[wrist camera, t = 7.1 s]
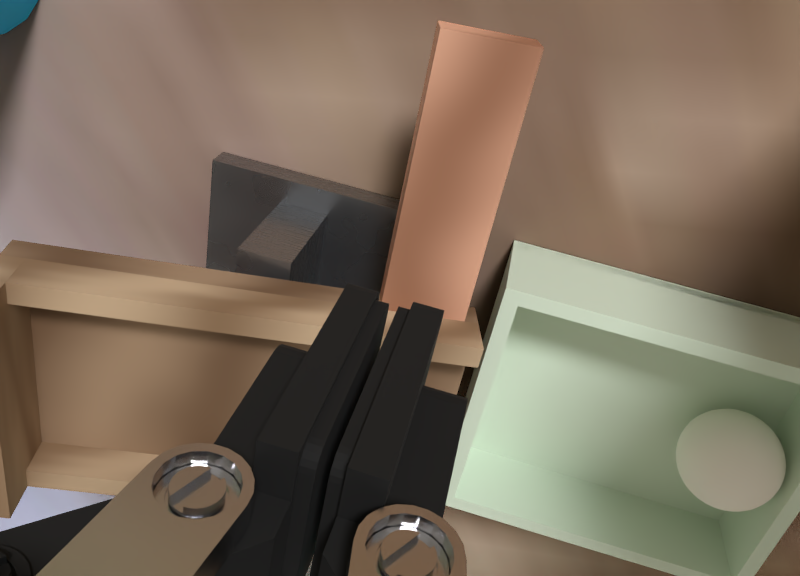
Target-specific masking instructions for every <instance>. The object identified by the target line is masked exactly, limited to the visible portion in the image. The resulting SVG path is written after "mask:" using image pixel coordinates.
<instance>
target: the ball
mask: <svg viewBox="0 0 800 576" xmlns="http://www.w3.org/2000/svg"><path fill="white" fill-rule="evenodd" d="M676 463H677V468H678V471H679V474H680V476H681V478H682V480H683V482H684V484H685V485H686V487H687V488H688V489H689V490H690V491H691V492H692V493H693V495H695V496H696V497H697V498H698V499H700V500H701V501H703V502H704V503H706V504H707V505H710V506H712V507H714V508H717V509H720V510H725V511H731V512H741V511H748V510H752V509H755V508H757V507H759V506H762V505H763V504H765V503H767V502H768V501H769V500H770V499H771V498H772V497H773V496H774V495H775V494H776V493H777V492H778V490H779V489H780V487H781V485H782V483H783V480H784V477H785V472H786V459H785V454H784V450H783V447H782V445H781V442H780V440H779V439H778V437H777V436H776V434H775V433H774V432H773V430H772V429H771V428H770V427H769V426H768V425H767V424H765V423H764V422H763V421H762V420H760V419H759V418H757V417H755V416H754V415H751V414H749V413H747V412H744V411H740V410H735V409H716V410H711V411H708V412H705V413H703V414H701V415H699V416H697V417H696V418H694V419H693V420H692V421H690V422H689V423H688V425H687V426H686V427H685V428H684V430H683V431H682V433H681V435H680V437H679V439H678V442H677V447H676Z"/></svg>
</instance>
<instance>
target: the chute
mask: <svg viewBox="0 0 800 576" xmlns="http://www.w3.org/2000/svg"><path fill="white" fill-rule="evenodd" d="M543 50H544V48H543V47H542V45H541V44H540V43H539V42H538V40H535V39H530V38H525V37H520V36H515V35H510V34H505V33H500V32H495V31H489V30H484V29H479V28H474V27H469V26H464V25H459V24H454V23H449V22H444V21H439V20H438V22H437V26H436V31H435V36H434V41H433V45H432V50H431V55H430V59H429V64H428V69H427V74H426V78H425V83H424V88H423V93H422V97H421V102H420V107H419V112H418V116H417V121H416V126H415V130H414V135H413V140H412V145H411V149H410V154H409V159H408V164H407V168H406V173H405V178H404V183H403V187H402V192H401V197H400V202H399V206H398V211H397V216H396V220H395V225H394V230H393V235H392V239H391V244H390V249H389V254H388V258H387V263H386V268H385V273H384V277H383V282H382V287H381V291H380V294H379V301H382V302H385V303H389V310H388V314H387V319H386V324H385V328H384V333H383V337H382V342H381V346H382V344H383V341H384V339H385V337H386V334H387V332H388V330H389V327H390V325H391V323H392V320H393V318H394V316H395V313H396V311H397V309H398V307H403V308H406V309H410V308H411V306H412V303H413V302H417V303H420V304H424V305H427V306H431V307H435V308H438V309H442V310H444V315H443V319H442V322H441V326H440V330H439V334H438V337H437V341H436V345H435V349H434V352H433V356H432V360H431V363H430V367H429V371H428V375H427V378H426V382H425V386H428V387H431V388H435V389H438V390H441V391H445V392H448V393H452V394H455V395H457V392H458V389H459V386H460V382H461V379H462V376H463V373H464V369H465V366H468V367H476V368H478V366H479V363H480V360H481V357H482V354H483V350H484V347H483V343H482V338H481V333H480V329H479V324H478V319H477V315H476V310H475V308H473V307H469V304H470V301H471V298H472V294H473V291H474V287H475V284H476V280H477V277H478V273H479V270H480V267H481V263H482V260H483V256H484V253H485V249H486V246H487V243H488V239H489V236H490V232H491V229H492V225H493V222H494V218H495V215H496V212H497V208H498V205H499V201H500V198H501V194H502V191H503V187H504V184H505V181H506V177H507V174H508V170H509V167H510V163H511V160H512V156H513V153H514V150H515V146H516V143H517V139H518V136H519V132H520V129H521V125H522V122H523V119H524V115H525V112H526V108H527V105H528V101H529V98H530V95H531V91H532V88H533V84H534V81H535V77H536V74H537V70H538V67H539V64H540V60H541V57H542V53H543ZM343 290H344V288H337V287H330V286H323V285H317V284H310V283H303V282H296V281H289V280H283V279H276V278H269V277H262V276H255V275H248V274H242V273H235V272H228V271H221V270H214V269H208V268H201V267H194V266H187V265H180V264H174V263H167V262H160V261H153V260H146V259H139V258H133V257H126V256H119V255H112V254H105V253H99V252H92V251H85V250H78V249H71V248H64V247H58V246H51V245H44V244H37V243H30V242H24V241H17V240H12V241H11V242H10V243H9V244H8V245H7V247H6V248H5V249H4V250H3V251H2V252H1V253H0V517H1V518H11V516H12V514H13V512H14V510H15V508H16V507H17V505H18V503H19V501H20V499H21V497H22V495H23V493H24V492H25V490H26V488H27V486H32V487H41V488H50V489H60V490H69V491H79V492H88V493H98V494H107V495H117V494H118V493H119V492H120V491H121V490H122V489H123V488H124V487H125V486H126V485H127V484H128V483H129V482H130V481H131V480H132V479H133V478H135V477H136V476H137V475H138V474H139V473H140V472H141V471H142V470H143V469H144V468H145V467H146V466H147V465H148V464H149V463H150V462H151V461H152V460H153V459H155V458H156V457H157V456H159V455H160V454H161V453H163V452H164V451H167V450H169V449H172V448H174V447H177V446H179V445H186V444H192V443H208V444H214V442H215V441H216V439H217V438H218V436H219V435H220V433H221V432H222V430H223V429H224V427H225V426H226V424H227V422H228V421H229V419H230V418H231V416H232V415H233V413H234V412H235V410H236V409H237V407H238V406H239V404H240V403H241V401H242V399H243V398H244V396H245V395H246V393H247V392H248V390H249V389H250V387H251V386H252V384H253V383H254V381H255V379H256V378H257V376H258V375H259V373H260V372H261V370H262V369H263V367H264V366H265V364H266V363H267V361H268V360H269V358H270V356H271V355H272V353H273V352H274V350H275V349H276V348H277V347H278V345H280V344H284V345H287V346H291V347H294V348H298V349H301V350H304V351H308V350H309V349H310V347H311V345H312V343H313V342H314V340H315V338H316V336H317V335H318V333H319V331H320V330H321V328H322V326H323V324H324V323H325V321H326V319H327V317H328V316H329V314H330V312H331V311H332V309H333V307H334V305H335V304H336V302H337V300H338V298H339V297H340V295H341V293H342V292H343ZM381 346H380V348H381Z"/></svg>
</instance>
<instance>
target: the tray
mask: <svg viewBox="0 0 800 576" xmlns="http://www.w3.org/2000/svg"><path fill="white" fill-rule="evenodd" d="M482 343H483V347H484V350H483V354H482V357H481V360H480V363H479V366H478V368H476V367H475V368H474V371H473V374H472V377H471V381H470V384H469V387H468V390H467V393H466V397H465V398H468V402H467V407H466V412H465V416H464V421H463V426H462V430H461V435H460V439H459V444H458V449H457V453H456V458H455V463H454V467H453V472H452V477H451V481H450V486H449V491H448V495H447V500H446V506H449V507H453V508H456V509H459V510H462V511H466V512H469V513H472V514H476V515H479V516H482V517H485V518H489V519H492V520H495V521H499V522H502V523H505V524H508V525H512V526H515V527H518V528H522V529H525V530H528V531H531V532H535V533H538V534H541V535H545V536H548V537H551V538H554V539H558V540H561V541H564V542H568V543H571V544H574V545H577V546H581V547H584V548H587V549H591V550H594V551H597V552H600V553H604V554H607V555H610V556H614V557H617V558H620V559H623V560H627V561H630V562H633V563H637V564H640V565H643V566H646V567H650V568H653V569H656V570H660V571H663V572H666V573H669V574H673V575H676V576H755V574H756V573H757V571H758V570H759V569H760V567H761V566H762V564H763V563H764V562H765V560H766V559H767V557H768V556H769V554H770V553H771V552H772V550H773V549H774V547H775V546H776V544H777V543H778V542H779V540H780V539H781V537H782V536H783V534H784V533H785V532H786V530H787V529H788V527H789V526H790V524H791V523H792V522H793V520H794V519H795V517H796V516H797V515H798V513H799V512H800V317H796V316H793V315H789V314H785V313H782V312H778V311H774V310H771V309H767V308H763V307H760V306H756V305H752V304H748V303H745V302H741V301H737V300H734V299H730V298H726V297H723V296H719V295H715V294H711V293H708V292H704V291H700V290H697V289H693V288H689V287H686V286H682V285H678V284H675V283H671V282H667V281H663V280H660V279H656V278H652V277H649V276H645V275H641V274H638V273H634V272H630V271H627V270H623V269H619V268H615V267H612V266H608V265H604V264H601V263H597V262H593V261H590V260H586V259H582V258H578V257H575V256H571V255H567V254H564V253H560V252H556V251H553V250H549V249H545V248H542V247H538V246H534V245H530V244H527V243H523V242H519V241H516V240H514V243H513V246H512V249H511V252H510V256H509V259H508V262H507V265H506V268H505V272H504V275H503V278H502V281H501V284H500V288H499V291H498V294H497V297H496V300H495V304H494V307H493V310H492V313H491V316H490V320H489V323H488V326H487V329H486V332H485V336H484V339H483V342H482ZM716 409H735V410H740V411H744V412H747V413H749V414H751V415H754V416H755V417H757V418H759V419H760V420H762V421H763V422H764V423H765V424H767V425H768V426H769V427H770V428H771V429H772V430H773V432H774V433H775V434H776V436H777V437H778V439H779V440H780V442H781V445H782V447H783V450H784V454H785V459H786V472H785V477H784V480H783V483H782V485H781V487H780V489H779V490H778V492H777V493H776V494H775V495H774V496H773V497H772V498H771V499H770V500H769V501H768V502H767V503H765V504H763V505H762V506H759V507H757V508H755V509H752V510H748V511H741V512H731V511H725V510H720V509H717V508H714V507H712V506H710V505H707V504H706V503H704V502H703V501H701V500H700V499H698V498H697V497H696V496H695V495H693V493H692V492H691V491H690V490H689V489H688V488H687V487H686V485H685V484H684V482H683V480H682V478H681V476H680V474H679V471H678V468H677V463H676V447H677V442H678V439H679V437H680V435H681V433H682V431H683V430H684V428H685V427H686V426H687V425H688V423H689V422H690V421H692V420H693V419H694V418H696V417H697V416H699V415H701V414H703V413H705V412H708V411H711V410H716Z"/></svg>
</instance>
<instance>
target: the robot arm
mask: <svg viewBox="0 0 800 576" xmlns="http://www.w3.org/2000/svg"><path fill="white" fill-rule="evenodd" d="M388 310H389V303H385V302H382V301H379V292H378V291H374V290H371V289H367V288H364V287H360V286H357V285H353V284H349V283H348V284H347V285H346V286H345V288H344V290H343V292H342V293H341V295H340V297H339V298H338V300H337V302H336V304H335V305H334V307H333V309H332V311H331V312H330V314H329V316H328V317H327V319H326V321H325V323H324V324H323V326H322V328H321V330H320V331H319V333H318V335H317V336H316V338H315V340H314V342H313V343H312V345H311V347H310V349H309V350H308V351H304V350H301V349H298V348H294V347H291V346H287V345H284V344H280V345H278V347H277V348H276V349H275V350H274V352H273V353H272V355H271V356H270V358H269V360H268V361H267V363H266V364H265V366H264V367H263V369H262V370H261V372H260V373H259V375H258V376H257V378H256V379H255V381H254V383H253V384H252V386H251V387H250V389H249V390H248V392H247V393H246V395H245V396H244V398H243V399H242V401H241V403H240V404H239V406H238V407H237V409H236V410H235V412H234V413H233V415H232V416H231V418H230V419H229V421H228V422H227V424H226V426H225V427H224V429H223V430H222V432H221V433H220V435H219V436H218V438H217V439H216V441H215V442H214V444H208V443H192V444H186V445H179V446H177V447H174V448H172V449H169V450H167V451H164V452H163V453H161V454H160V455H159V456H157V457H156V458H155V459H153V460H152V461H151V462H150V463H149V464H148V465H147V466H146V467H145V468H144V469H143V470H142V471H141V472H140V473H139V474H138V475H137V476H136V477H135V478H133V479H132V480H131V481H130V482H129V483H128V484H127V485H126V486H125V487H124V488H123V489H122V490H121V491H120V492H119V493H118V494H117V495H116V496H115V497H114V498H113V499H110V500H107V501H103V502H100V503H97V504H93V505H90V506H86V507H83V508H80V509H76V510H73V511H69V512H66V513H63V514H59V515H56V516H52V517H49V518H46V519H42V520H39V521H35V522H32V523H29V524H25V525H22V526H18V527H15V528H12V529H8V530H5V531H1V532H0V576H305V575H306V573H307V570H308V567H309V565H310V562H311V560H312V557H313V561H312V566H311V572H310V576H467V567H466V555H465V550H464V545H463V543H462V541H461V539H460V538H459V536H458V534H457V532H456V531H455V530H454V529H453V528H452V527H451V526H450V525H449V524H448V523H447V522H446V521H445V520H444V519H443V514H444V509H445V505H446V500H447V495H448V491H449V486H450V481H451V477H452V472H453V467H454V463H455V458H456V453H457V449H458V444H459V439H460V435H461V430H462V426H463V421H464V416H465V412H466V407H467V402H468V398H465V397H462V396H459V395H455V394H452V393H448V392H445V391H441V390H438V389H435V388H431V387H428V386H425V382H426V378H427V375H428V371H429V367H430V363H431V360H432V356H433V352H434V349H435V345H436V341H437V337H438V334H439V330H440V326H441V322H442V319H443V315H444V310H442V309H438V308H435V307H431V306H427V305H424V304H420V303H417V302H413V303H412V306H411V308H410V309H406V308H403V307H398V309H397V311H396V313H395V316H394V318H393V320H392V323H391V325H390V327H389V330H388V332H387V334H386V337H385V339H384V341H383V344H382V346H381V342H382V337H383V333H384V328H385V324H386V319H387V314H388ZM380 346H381V348H380ZM313 555H314V556H313Z"/></svg>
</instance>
